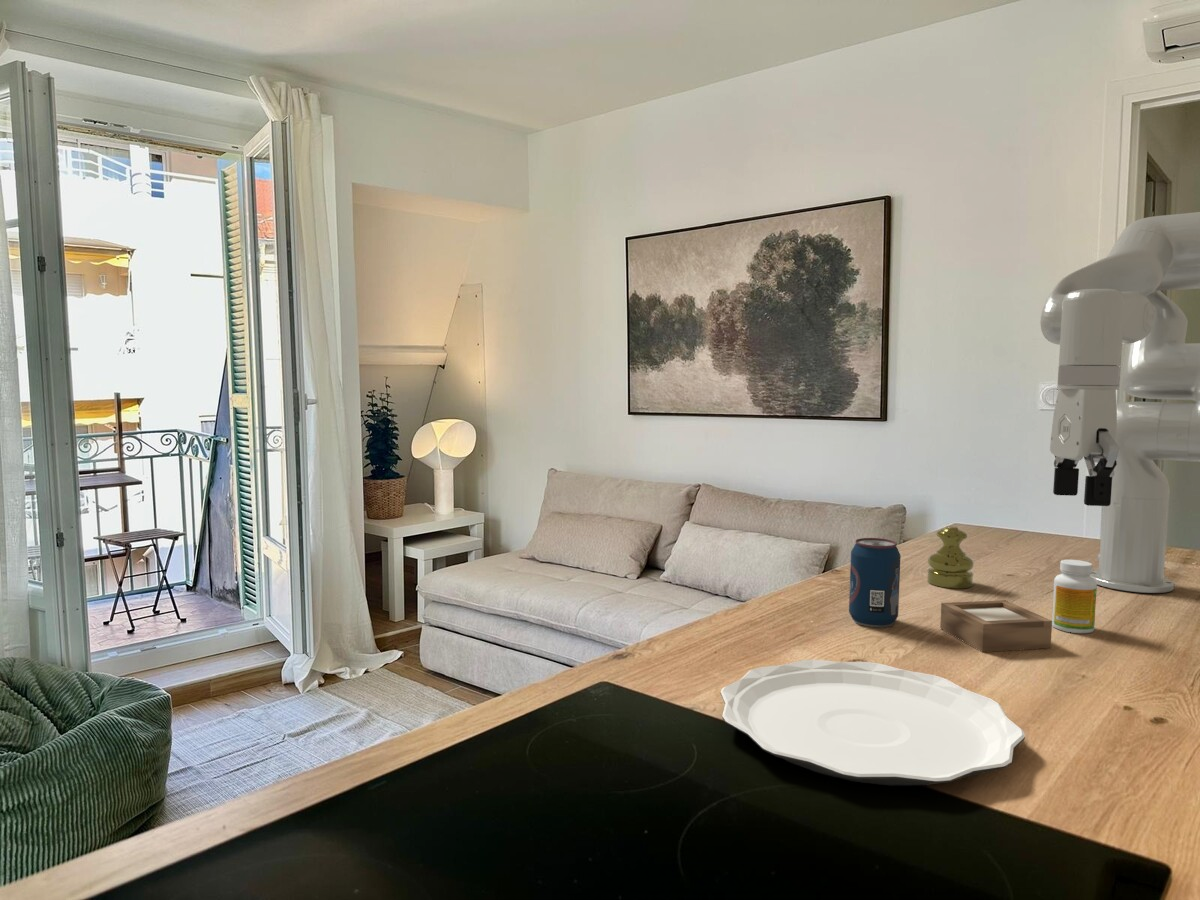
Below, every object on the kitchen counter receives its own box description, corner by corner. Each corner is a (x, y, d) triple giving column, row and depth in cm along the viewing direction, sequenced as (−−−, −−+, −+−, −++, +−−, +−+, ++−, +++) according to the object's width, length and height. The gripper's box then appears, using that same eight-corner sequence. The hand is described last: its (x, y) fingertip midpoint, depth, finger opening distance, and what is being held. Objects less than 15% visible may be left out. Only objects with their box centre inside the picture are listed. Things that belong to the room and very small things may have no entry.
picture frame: (940, 628, 121) (941, 602, 121) (1003, 625, 122) (1005, 600, 122) (982, 652, 111) (983, 624, 111) (1050, 648, 113) (1052, 620, 112)
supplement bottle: (1100, 635, 118) (1104, 567, 117) (1058, 633, 119) (1062, 565, 118) (1086, 624, 123) (1090, 559, 122) (1046, 621, 125) (1050, 557, 124)
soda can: (846, 613, 128) (849, 535, 127) (894, 616, 127) (897, 538, 126) (850, 627, 122) (853, 545, 120) (901, 630, 120) (904, 547, 119)
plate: (843, 833, 68) (844, 805, 68) (671, 701, 95) (671, 680, 95) (1090, 766, 80) (1091, 742, 80) (875, 665, 107) (876, 647, 107)
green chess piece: (981, 585, 145) (984, 528, 144) (956, 591, 141) (959, 533, 140) (943, 576, 151) (945, 521, 150) (917, 582, 147) (920, 526, 146)
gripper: (1035, 378, 127) (1028, 490, 128) (1089, 379, 110) (1080, 509, 111) (1087, 378, 126) (1080, 492, 127) (1150, 379, 109) (1140, 510, 110)
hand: (1080, 500), depth 119 cm, fingers open, 9 cm apart
